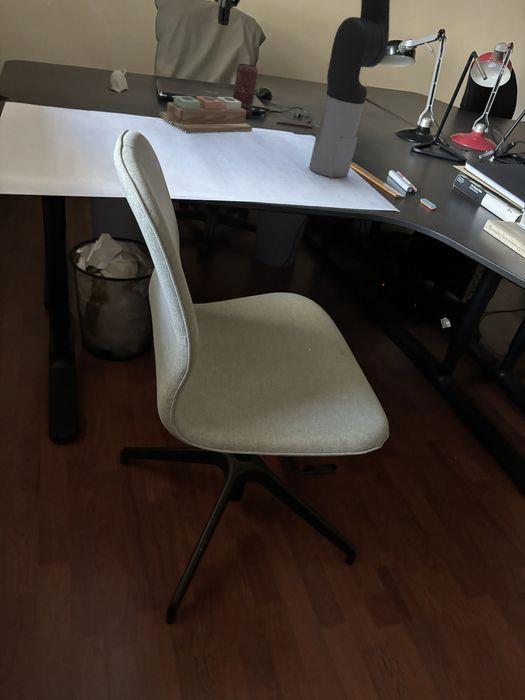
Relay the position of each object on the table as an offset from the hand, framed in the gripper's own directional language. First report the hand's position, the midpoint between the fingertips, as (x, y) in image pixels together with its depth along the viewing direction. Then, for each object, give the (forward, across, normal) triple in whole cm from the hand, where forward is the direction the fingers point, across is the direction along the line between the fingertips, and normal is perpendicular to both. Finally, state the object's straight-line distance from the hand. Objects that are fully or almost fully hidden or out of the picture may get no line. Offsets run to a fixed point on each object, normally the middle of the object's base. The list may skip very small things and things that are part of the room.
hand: (222, 24), depth 132 cm
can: (+25, +7, -16) cm, 30 cm away
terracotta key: (+20, 0, +2) cm, 20 cm away
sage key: (+20, 0, +9) cm, 22 cm away
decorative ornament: (+25, +34, +10) cm, 43 cm away
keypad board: (+24, 0, +2) cm, 24 cm away
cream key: (+20, 0, -5) cm, 21 cm away
